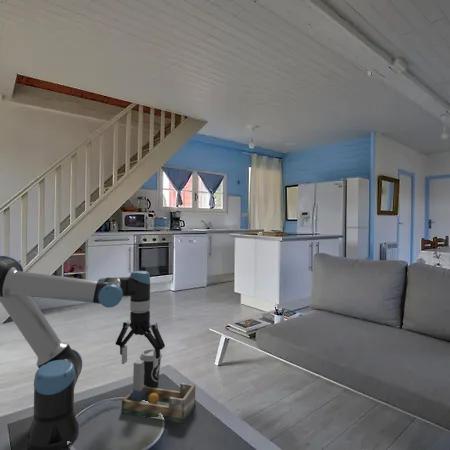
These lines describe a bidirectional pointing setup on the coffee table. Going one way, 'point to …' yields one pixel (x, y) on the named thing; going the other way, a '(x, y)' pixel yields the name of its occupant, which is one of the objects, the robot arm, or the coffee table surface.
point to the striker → (138, 382)
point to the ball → (153, 398)
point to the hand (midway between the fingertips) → (139, 364)
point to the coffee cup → (150, 368)
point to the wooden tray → (164, 404)
